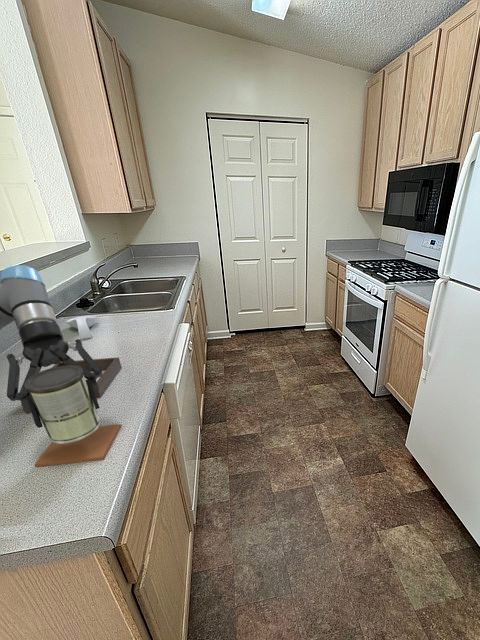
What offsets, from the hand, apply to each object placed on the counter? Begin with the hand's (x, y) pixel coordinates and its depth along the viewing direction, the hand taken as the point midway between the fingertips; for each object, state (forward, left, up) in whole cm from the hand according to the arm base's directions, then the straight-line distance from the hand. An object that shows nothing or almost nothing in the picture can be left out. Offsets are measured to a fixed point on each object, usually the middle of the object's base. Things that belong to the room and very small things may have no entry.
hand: (69, 416), depth 72 cm
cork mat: (-1, +3, -10) cm, 11 cm away
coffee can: (-1, +3, -6) cm, 6 cm away
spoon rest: (-33, +84, -10) cm, 90 cm away
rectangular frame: (-14, +34, -10) cm, 38 cm away
